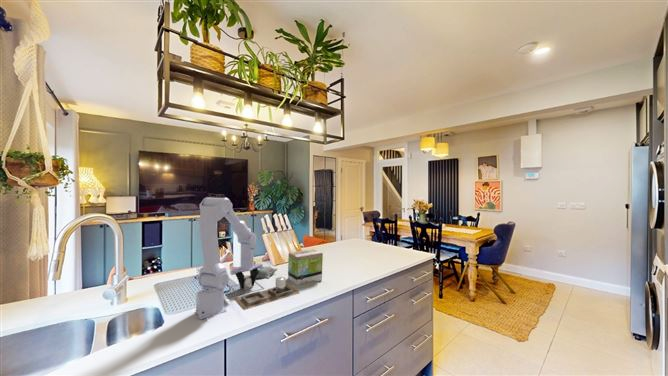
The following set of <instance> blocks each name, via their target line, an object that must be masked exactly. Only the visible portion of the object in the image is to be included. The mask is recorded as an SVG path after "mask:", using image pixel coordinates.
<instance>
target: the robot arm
mask: <svg viewBox="0 0 668 376" xmlns="http://www.w3.org/2000/svg"><path fill="white" fill-rule="evenodd" d="M198 205H199V212H200V213H199V214H200V215H199V219H198V221H199V222H198V224H199V229H200V230H199V231H200V239H201V248H202V256H203V264H204V265H203V266H201V268H200V269H199V271H198V272H199V275H198V278H197V279H198V280H197V281H198V285H199V286H200V287H201V289H202V290H199V291H197V292H196V295H195V313H196V314H197V316H198V319H199V320H203V319H207V318H209V317H211V316H212V317H213V316H217V315H219V314H222V313H226V312H228V310H227V308H226V307H225V306H224V302H225V301H224V298H225V297H224V296H225V295H224V294H225V293H224V291H225V288H226V287H227V285H228V283H229V278H230V277H229V274H230V275H231V276H235V277H236V278H237V281H238V286H239V288H240V289H241V290H244V289H243V280H244V276H245V274H244V273H246V272H249V275H250V276H252V287H253V286H255V281H256V279H257V278H256V277H257V275H258V273H259V269H262V268H263V267H264V266H263V264H262V263H254V257H255V255H254V254H255V253H254V251H255V249H254V248H255V247H256V241H257V238H258V237H257V235H256V234H255V232H253V231H251V230H250V228H249V227H248V225H247V224H246V222H245V220H244V221H243V220H240V219H239V218H238V215H237V214H236V212H235V211H234V209H233V203H232V202H231V200H230V199H229V198H228V197H211V196H210V197H209V196H207V197H204V198H203V199H202V201H201V202H200V203H199V204H198ZM223 218H225V219H226V220H227V221H228V222H229V224H230V225H231V230H232V232H234V234H235V235H236V237H237V242H238V243H239V244H240V266H239V267H236V268H233V269H232V268H231V269H230V273H228V272H227V269H226V267H225V265H224V264H222V263H221V258H220V257H221V256H220V248H219V247H220V246H219V239H218V230H217V229H218V228H217V223H218V221H221V220H223Z"/></svg>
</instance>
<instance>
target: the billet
mask: <svg viewBox="0 0 668 376" xmlns="http://www.w3.org/2000/svg"><path fill="white" fill-rule="evenodd" d="M286 283H287V278H286V277H284V276H278V277H276V278H275V287H276V293H277V294H278V293H282V292H286V285H287V284H286Z"/></svg>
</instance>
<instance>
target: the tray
mask: <svg viewBox="0 0 668 376" xmlns="http://www.w3.org/2000/svg"><path fill="white" fill-rule="evenodd" d="M254 284H256V285H258V287H260V288H259V289H256V290H253V291H248V292H244V293H240V294H239V293H238V292H237V291H236V290H235V289H234V288H233V287H237V286H238V284H236V285H231V286H229V288H230V289H231V290H232V291H233V292H234V293H235V294H236V295H237V296H243V295H247V294H251V293H254V292H258V291H263V290H265V287H263V286H262V285H261V284H260V283H258V282H257V281H256V280H255V282H254Z"/></svg>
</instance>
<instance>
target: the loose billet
mask: <svg viewBox="0 0 668 376" xmlns="http://www.w3.org/2000/svg"><path fill="white" fill-rule="evenodd" d="M252 287H253V286H252V276H250V274H248V275H244V280H243V289H242V290H244V291H246V290H250V289H252Z"/></svg>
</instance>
